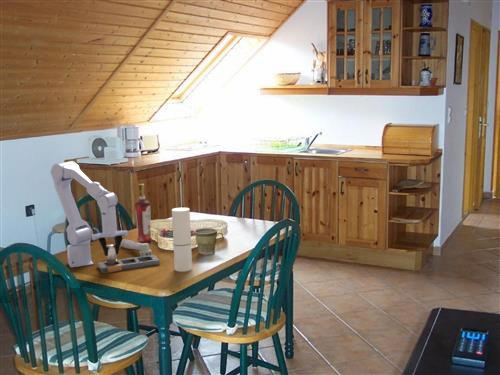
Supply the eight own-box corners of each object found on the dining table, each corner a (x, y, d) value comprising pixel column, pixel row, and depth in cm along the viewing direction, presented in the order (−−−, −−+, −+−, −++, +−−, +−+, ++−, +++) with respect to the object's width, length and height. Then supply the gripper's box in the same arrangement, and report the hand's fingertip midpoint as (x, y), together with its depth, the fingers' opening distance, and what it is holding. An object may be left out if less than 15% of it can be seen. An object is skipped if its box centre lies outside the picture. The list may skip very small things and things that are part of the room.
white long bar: (128, 237, 292) (152, 241, 272) (130, 251, 292) (154, 256, 272) (118, 239, 289) (141, 243, 269) (119, 253, 289) (143, 258, 269)
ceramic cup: (192, 254, 274) (191, 232, 273) (200, 248, 284) (199, 227, 282) (219, 256, 270) (219, 234, 269) (227, 250, 280) (226, 228, 278)
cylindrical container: (192, 265, 258) (190, 207, 254) (191, 271, 251) (188, 210, 247) (175, 266, 258) (172, 207, 254) (173, 271, 251) (170, 211, 247)
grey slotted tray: (102, 273, 251) (102, 268, 251) (98, 267, 260) (97, 262, 259) (159, 264, 261) (159, 259, 261) (153, 259, 269) (153, 254, 269)
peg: (108, 264, 255) (106, 247, 253) (106, 261, 258) (105, 245, 257) (117, 262, 256) (116, 246, 255) (115, 260, 260) (114, 243, 259)
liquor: (143, 239, 303) (139, 182, 298) (155, 240, 300) (152, 183, 295) (133, 242, 297) (130, 185, 292) (146, 244, 294) (143, 186, 289)
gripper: (93, 226, 248) (95, 259, 250) (129, 222, 254) (131, 254, 256) (89, 223, 254) (92, 255, 256) (125, 218, 260) (127, 250, 262)
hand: (111, 254), depth 257 cm, fingers closed on peg, 4 cm apart
